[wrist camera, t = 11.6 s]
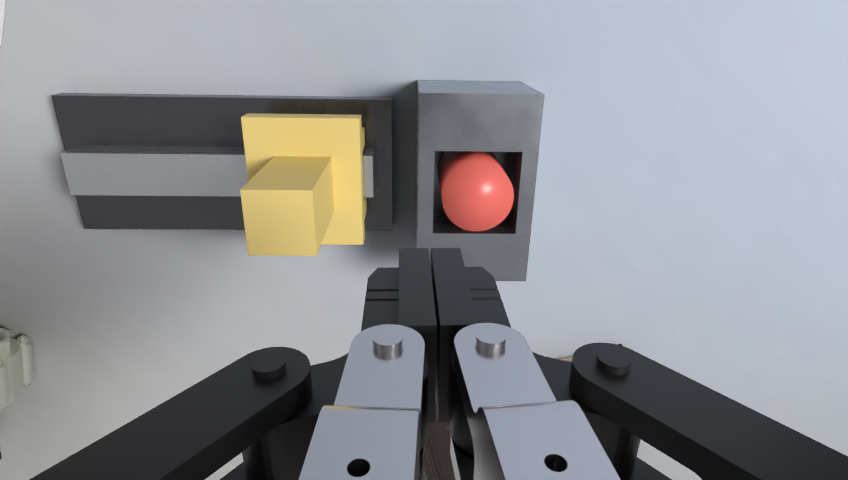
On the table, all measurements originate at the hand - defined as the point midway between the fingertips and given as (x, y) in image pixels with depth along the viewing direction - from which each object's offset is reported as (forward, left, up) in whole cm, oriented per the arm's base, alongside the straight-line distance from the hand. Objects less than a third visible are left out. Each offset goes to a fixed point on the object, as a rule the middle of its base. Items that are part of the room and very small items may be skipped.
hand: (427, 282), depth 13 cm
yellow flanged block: (+2, -6, -19) cm, 20 cm away
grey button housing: (+2, +3, -20) cm, 21 cm away
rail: (+2, -11, -20) cm, 23 cm away
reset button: (+2, +3, -18) cm, 19 cm away
